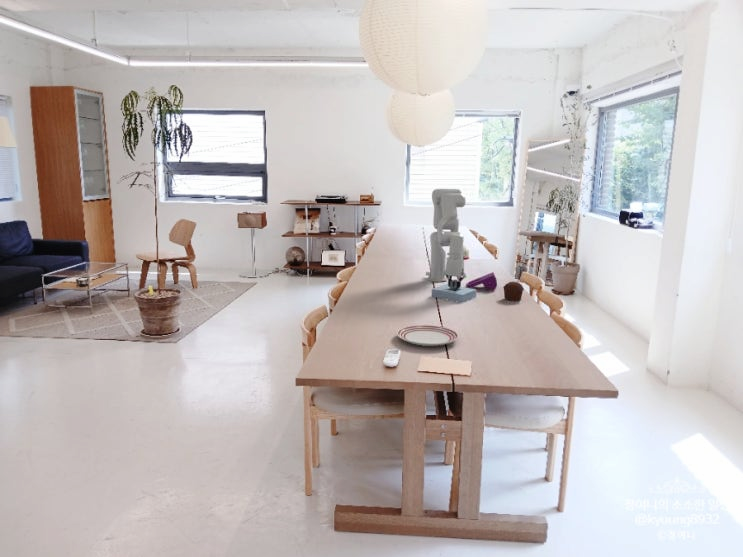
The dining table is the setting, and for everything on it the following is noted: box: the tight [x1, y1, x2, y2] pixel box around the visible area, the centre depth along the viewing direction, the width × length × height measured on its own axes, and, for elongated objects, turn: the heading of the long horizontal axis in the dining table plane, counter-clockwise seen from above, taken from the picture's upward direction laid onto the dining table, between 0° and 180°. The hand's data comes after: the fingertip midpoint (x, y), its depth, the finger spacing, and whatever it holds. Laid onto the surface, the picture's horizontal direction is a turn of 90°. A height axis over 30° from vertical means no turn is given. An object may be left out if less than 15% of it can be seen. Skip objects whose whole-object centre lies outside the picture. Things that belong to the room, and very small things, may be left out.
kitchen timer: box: [462, 239, 470, 261], centre depth 432 cm, size 14×14×15 cm
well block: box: [431, 283, 477, 304], centre depth 318 cm, size 20×16×4 cm
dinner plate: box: [396, 324, 460, 347], centre depth 246 cm, size 27×27×3 cm
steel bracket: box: [450, 279, 458, 291], centre depth 316 cm, size 4×5×10 cm
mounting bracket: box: [465, 271, 498, 291], centre depth 339 cm, size 9×8×18 cm
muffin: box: [502, 281, 524, 302], centre depth 314 cm, size 12×11×10 cm
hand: (454, 286), depth 317 cm, fingers open, 4 cm apart
